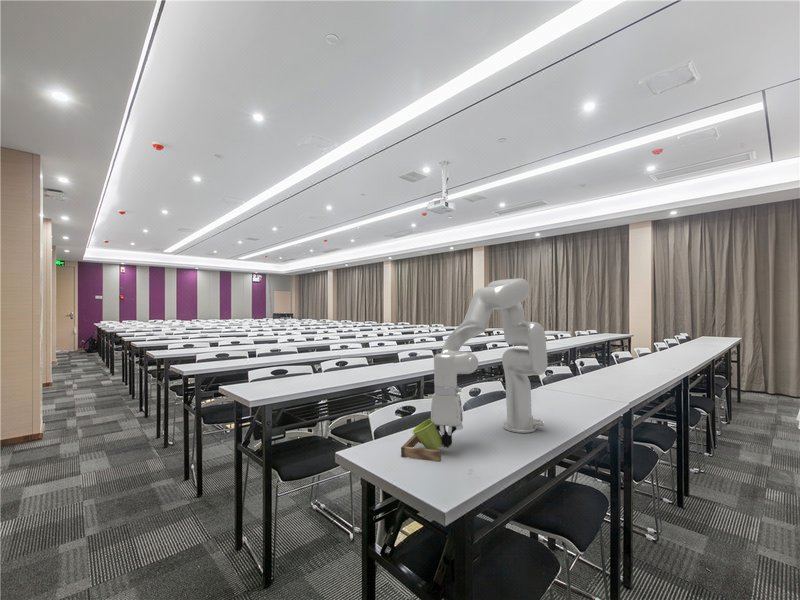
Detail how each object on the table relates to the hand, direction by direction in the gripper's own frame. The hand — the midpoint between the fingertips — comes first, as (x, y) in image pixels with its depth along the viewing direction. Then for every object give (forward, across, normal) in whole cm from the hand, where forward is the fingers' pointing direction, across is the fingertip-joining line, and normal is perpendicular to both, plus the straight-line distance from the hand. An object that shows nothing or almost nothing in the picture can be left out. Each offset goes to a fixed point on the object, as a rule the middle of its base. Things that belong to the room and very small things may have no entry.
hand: (447, 445), depth 121 cm
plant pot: (+1, +4, 0) cm, 4 cm away
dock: (+3, +7, -1) cm, 8 cm away
